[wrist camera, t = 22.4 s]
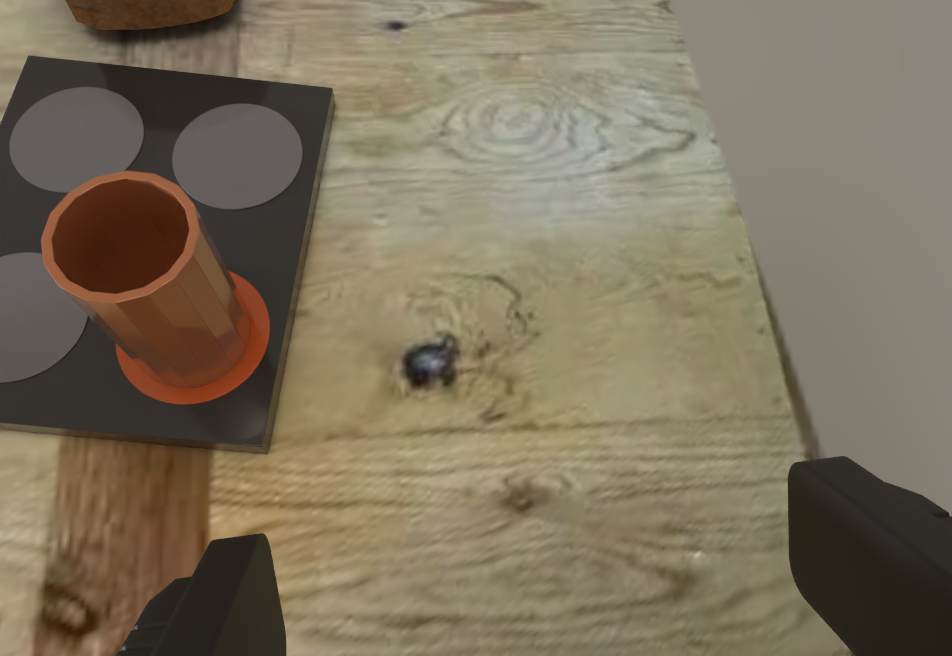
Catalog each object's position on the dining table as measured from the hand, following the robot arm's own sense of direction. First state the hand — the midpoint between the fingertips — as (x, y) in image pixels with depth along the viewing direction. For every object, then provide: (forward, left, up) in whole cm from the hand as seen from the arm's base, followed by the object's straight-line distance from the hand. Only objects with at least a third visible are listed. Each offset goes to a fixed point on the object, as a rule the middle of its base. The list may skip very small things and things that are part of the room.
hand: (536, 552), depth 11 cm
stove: (+19, -18, -26) cm, 37 cm away
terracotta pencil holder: (+15, -12, -24) cm, 31 cm away
